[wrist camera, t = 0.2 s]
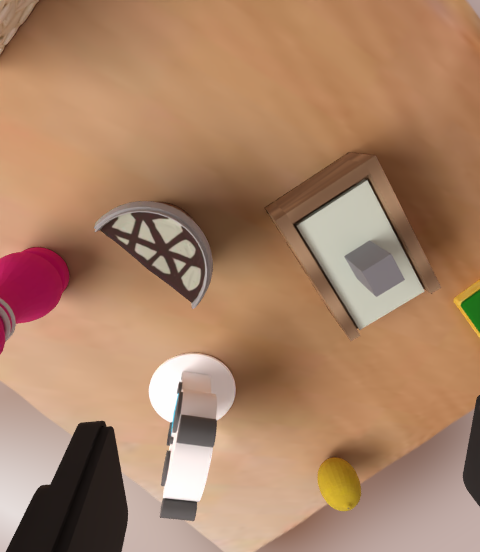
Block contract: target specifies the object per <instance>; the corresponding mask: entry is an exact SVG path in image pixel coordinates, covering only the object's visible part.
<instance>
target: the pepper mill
mask: <svg viewBox="0 0 480 552" xmlns="http://www.w3.org/2000/svg"><path fill="white" fill-rule="evenodd" d="M68 282H69V270H68V267H67V265H66V263H65V262H64V260H63V259H62V258H61V257H60V256H59V255H58V254H56V253H55V252H53V251H51V250H49V249H46V248H40V247H33V248H29V249H26V250H24V251H22V252H18V253H12V254H9V255H6V256H4V257H3V258H1V259H0V354H1V353H2V351H3V348H4V344H5V342H6V340H8V339H9V338H10V337H11V335H12V334H13V332H14V330H15V326H16V324H17V323H25V322H30V321H33V320H36V319H39V318H41V317H43V316H45V315H46V314H47V313H49V312H50V311H51V310H52V309H54V308H55V307H56V305H57V304H58V302H59V300H60V298H61V295H62V292H63V291H64V290H65V289H66V287H67V285H68Z"/></svg>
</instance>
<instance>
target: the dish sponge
mask: <svg viewBox="0 0 480 552" xmlns="http://www.w3.org/2000/svg"><path fill="white" fill-rule="evenodd" d="M454 303H455V304H456V306H457V307H458V308H459V310H460V311H461V313H462V314H463V315H464V317H465V318H466V319H467V321H468V322H469V324H470V325H471V326H472V328H473V329H474V331H475V332H476V333H477V335H478V336H479V338H480V279H479V280H478V281H477V282H475V283H474V284H473V285H471V286H470V287H469V288H467V289H466V290H464V291H463V292H462V293H460V294H459V295H458V296H456V297H455V298H454Z"/></svg>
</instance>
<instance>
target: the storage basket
mask: <svg viewBox="0 0 480 552" xmlns="http://www.w3.org/2000/svg"><path fill="white" fill-rule="evenodd" d="M38 1H39V0H0V54H1V53H2V51H3V50H4V47H5V45H6V44H8V42H9V41H10V40H11V39H12V37H13V36H14V34H15V33H16V31H17V29H18V28H19V26H20V25H21V24H23V23H24V21H25V20H26V19H27V17H28V16H29V15H30V13H31V12H32V10H33V8H34V6H35V5H36V3H37V2H38Z"/></svg>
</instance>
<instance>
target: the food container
mask: <svg viewBox="0 0 480 552" xmlns="http://www.w3.org/2000/svg"><path fill="white" fill-rule="evenodd" d="M94 228H95V229H96V230H95V232H97V231H99V230H101V231H102V232H103V233H104V234H105V235H106V236H108V237H110V238H111V239H112V240H114V241H115V242H116V243H118V244H119V245H120V246H121V247H122V248H124V249H125V250H126V251H127V252H128V253H130V254H131V255H132V256H133V257H134V258H136V259H137V260H138V261H139V262H140V263H141V264H142V265H144V266H145V267H146V268H147V269H148V270H150V271H151V272H152V273H154V274H155V275H157V276H158V277H159V278H161V279H162V280H163V281H165V282H166V283H167V284H169V285H170V286H171V287H173V288H174V289H175V290H176V291H178V292H179V293H180V294H181V295H183V296H184V297H185V298H186V299H188V300H189V301H190V302H191V303H192V309H193V308H195V307H196V306H197V305H198V304H199V302H200V301H201V300H202V298H203V296H204V295H205V293H206V291H207V289H208V287H209V284H210V281H211V277H212V271H213V260H212V253H211V249H210V246H209V243H208V241H207V239H206V237H205V235H204V233H203V232H202V230H201V229H200V228H199V226H198V225H197V224H196V223H195V222H194V221H193V219H192V218H191V217H190V216H189V215H188V213H186V212H185V211H184V210H182V209H181V208H179V207H177V206H175V205H172V204H169V203H164V202H152V201H138V202H130V203H127V204H124V205H120V206H118V207H116V208H114V209H112V210H110V211H109V212H107V213H106V214H105V215H103V216H102V217H101V218H100V219H99V220H98V221H97V222H96V223H95V226H94Z"/></svg>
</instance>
